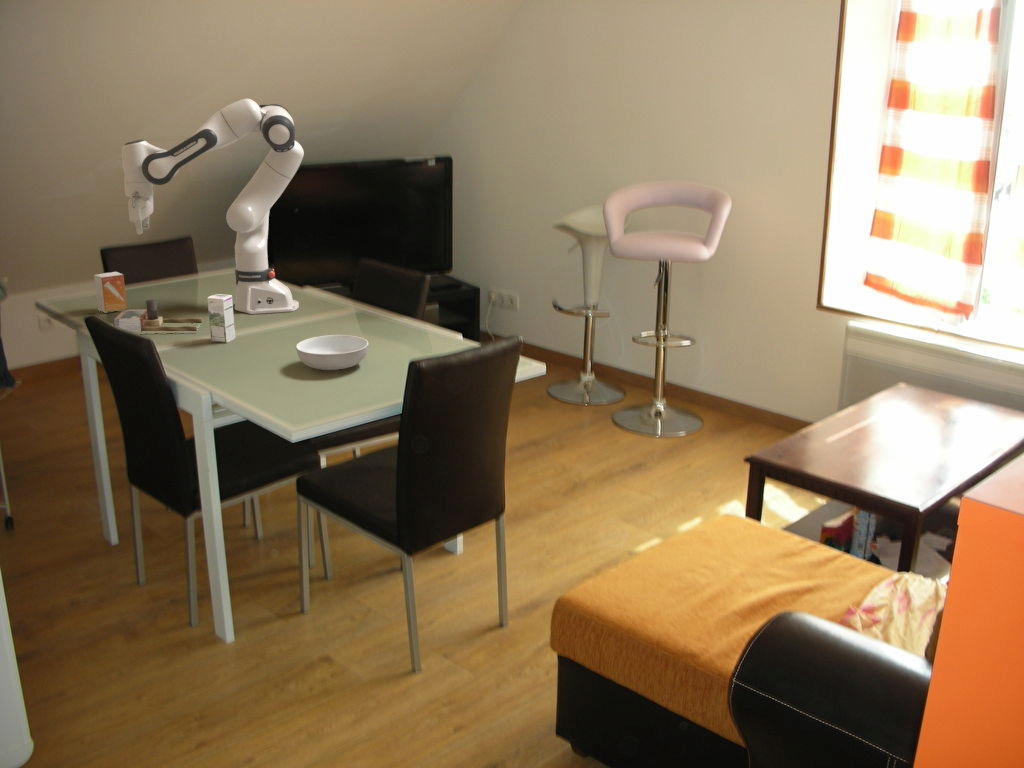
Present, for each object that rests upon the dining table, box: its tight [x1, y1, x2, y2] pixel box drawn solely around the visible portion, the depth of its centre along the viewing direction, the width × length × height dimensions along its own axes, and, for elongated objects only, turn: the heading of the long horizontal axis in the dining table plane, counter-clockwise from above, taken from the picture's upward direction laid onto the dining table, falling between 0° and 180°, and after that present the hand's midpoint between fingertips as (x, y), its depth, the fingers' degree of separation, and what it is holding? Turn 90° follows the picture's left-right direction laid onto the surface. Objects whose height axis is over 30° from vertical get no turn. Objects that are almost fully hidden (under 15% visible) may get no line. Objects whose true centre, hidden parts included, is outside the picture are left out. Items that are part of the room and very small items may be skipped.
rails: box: [142, 317, 203, 332], centre depth 345 cm, size 18×11×2 cm, turn 97°
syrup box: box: [206, 293, 236, 344], centre depth 330 cm, size 6×6×14 cm
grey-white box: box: [113, 308, 147, 332], centre depth 343 cm, size 8×13×5 cm, turn 7°
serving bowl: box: [295, 334, 369, 371], centre depth 306 cm, size 21×21×7 cm
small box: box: [93, 271, 128, 311], centre depth 365 cm, size 8×6×13 cm
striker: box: [140, 299, 164, 327], centre depth 343 cm, size 6×8×9 cm
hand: (143, 231), depth 352 cm, fingers open, 8 cm apart
